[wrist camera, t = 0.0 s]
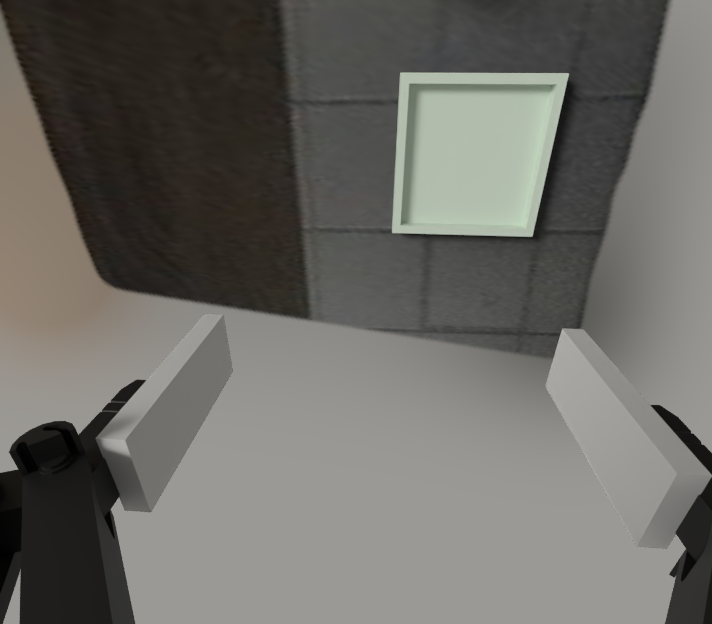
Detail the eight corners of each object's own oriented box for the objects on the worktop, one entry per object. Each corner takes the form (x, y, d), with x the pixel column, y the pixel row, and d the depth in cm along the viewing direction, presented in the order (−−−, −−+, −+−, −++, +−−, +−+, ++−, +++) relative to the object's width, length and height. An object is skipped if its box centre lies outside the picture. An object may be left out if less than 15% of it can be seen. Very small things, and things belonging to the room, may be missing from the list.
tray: (399, 74, 35) (400, 72, 33) (560, 74, 34) (569, 73, 33) (391, 228, 42) (392, 233, 40) (526, 231, 41) (532, 236, 39)
